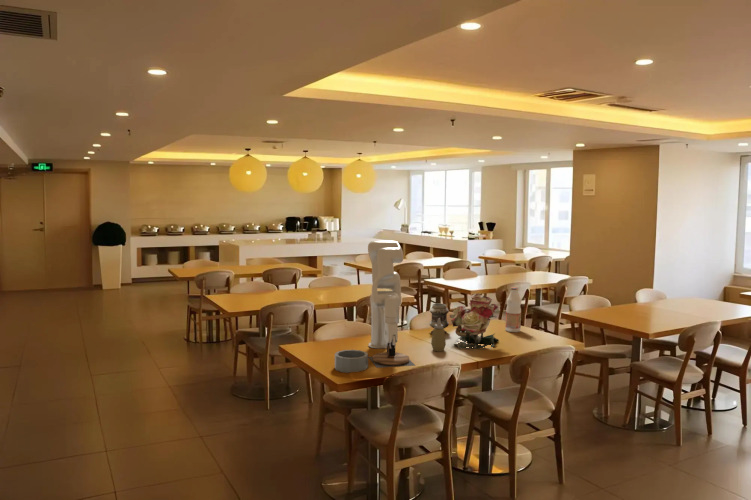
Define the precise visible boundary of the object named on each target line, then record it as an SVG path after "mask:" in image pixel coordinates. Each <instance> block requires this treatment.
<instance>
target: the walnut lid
mask: <svg viewBox="0 0 751 500" xmlns="http://www.w3.org/2000/svg"><path fill="white" fill-rule="evenodd" d="M389 348H390V345H388V353H387V351H385V352H378V353H375V354H374V355H372V356H373V357H372V356H371V357H372V360H373V361H374V362H376V363H378V364H383V365H401V364H405V363H408V362H409V360H410V356H409V355H408V354H405V353H402V352H396V351H395V356H389Z"/></svg>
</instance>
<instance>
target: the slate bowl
mask: <svg viewBox="0 0 751 500" xmlns="http://www.w3.org/2000/svg"><path fill="white" fill-rule="evenodd" d="M368 357H369V353H368V352H367V351H364V350H361V349H343V350H339V351H336V352H335V353H334V369H335V371H337V372H340V373H346V374H350V373H357V372H361V371H366V370H367V369H368V368H369V358H368Z"/></svg>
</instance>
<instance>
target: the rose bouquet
mask: <svg viewBox="0 0 751 500" xmlns="http://www.w3.org/2000/svg"><path fill="white" fill-rule="evenodd" d="M470 297H471V299H469V306H470V310H469V309H467V308H466V306H465V304H462V305H459V306H457V307H454V309H453V311H452V314H449V318H451V321H450V322H451V324H452V327H454V328H455V335H457V336H458V337H459V338H457V340H458V339H460V340H462V341H464V342H460V343H458V344H454V345H456V346H457V347H458V348H459V349H461V348H466V347H469V348H472V347H473V348H474V349H473V348H472V349H473V350H475V349H477V350H480V348H483V347H485V346H487V345H491V344H492V345H491V347H494V348H495V342H496V341H497V342H496V343H499V342H500V340H499V339H498V338H496V337H495V334H496V333H493V334H489V335H485V336H484V333H486V331H487V328H488V327H489V326H490V322H491V320H490V319H491V318H497V315H495V313H496V312H495V311H496V310H498V308H499V306H498V305H497V304H496V303H492V301H493V299H492V298H491V297H489V296H486V295H482V294H480V293H476V292H475V293H474V294H472V295H471V296H470ZM465 341H467V343H468V342H469V343H468V344H466V343H465ZM470 343H473V344H474V345H470ZM478 344H485V345H484V346H481V345H478ZM483 349H484V348H483Z"/></svg>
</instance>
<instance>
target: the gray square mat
mask: <svg viewBox="0 0 751 500" xmlns="http://www.w3.org/2000/svg"><path fill="white" fill-rule="evenodd" d="M372 357H373V355H372V356H368V360H370V362H371V363H372V364H373V365H374V366H375V368H377V369H379V368H396V367H397V368H398V367H412V366H413V367H414V366H416V364H415V363H414V362H412V360H410V359H409V362H408V363H405V364H401V365H383V364H378V363H376V362H374V361H373V360H372Z"/></svg>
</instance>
